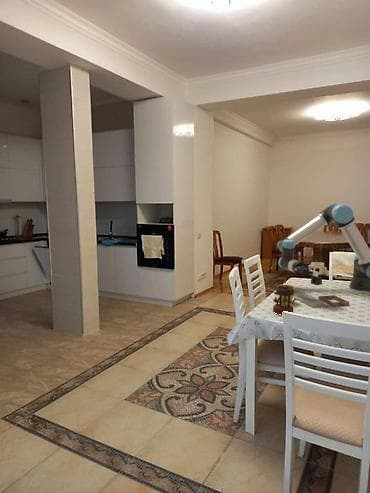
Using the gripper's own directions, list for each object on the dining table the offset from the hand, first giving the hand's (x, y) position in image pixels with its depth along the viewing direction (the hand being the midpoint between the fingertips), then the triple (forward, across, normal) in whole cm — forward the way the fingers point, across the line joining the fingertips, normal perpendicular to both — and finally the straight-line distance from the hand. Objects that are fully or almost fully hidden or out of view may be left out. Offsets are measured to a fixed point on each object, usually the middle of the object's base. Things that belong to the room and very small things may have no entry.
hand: (323, 273), depth 199 cm
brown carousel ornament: (-12, +15, -19) cm, 27 cm away
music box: (+4, +28, -19) cm, 34 cm away
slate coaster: (-5, +1, -19) cm, 19 cm away
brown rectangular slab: (-3, -12, -19) cm, 22 cm away
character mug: (-5, 0, -8) cm, 9 cm away
